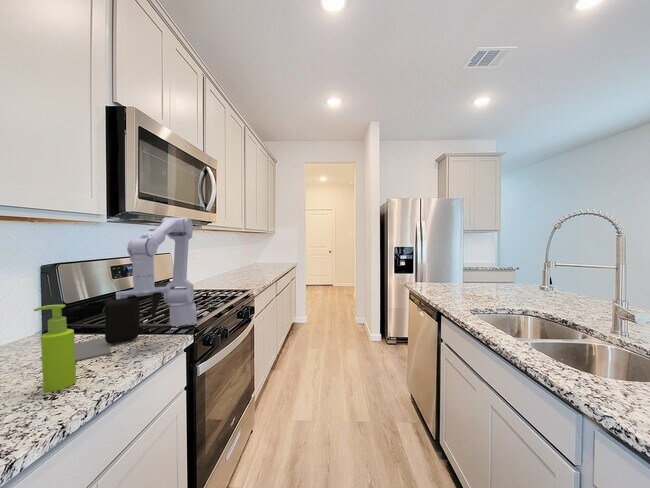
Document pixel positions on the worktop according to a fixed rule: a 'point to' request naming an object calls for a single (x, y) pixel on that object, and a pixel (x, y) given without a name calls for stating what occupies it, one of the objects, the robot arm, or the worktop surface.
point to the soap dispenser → (57, 352)
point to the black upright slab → (120, 321)
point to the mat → (91, 349)
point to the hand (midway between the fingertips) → (145, 317)
